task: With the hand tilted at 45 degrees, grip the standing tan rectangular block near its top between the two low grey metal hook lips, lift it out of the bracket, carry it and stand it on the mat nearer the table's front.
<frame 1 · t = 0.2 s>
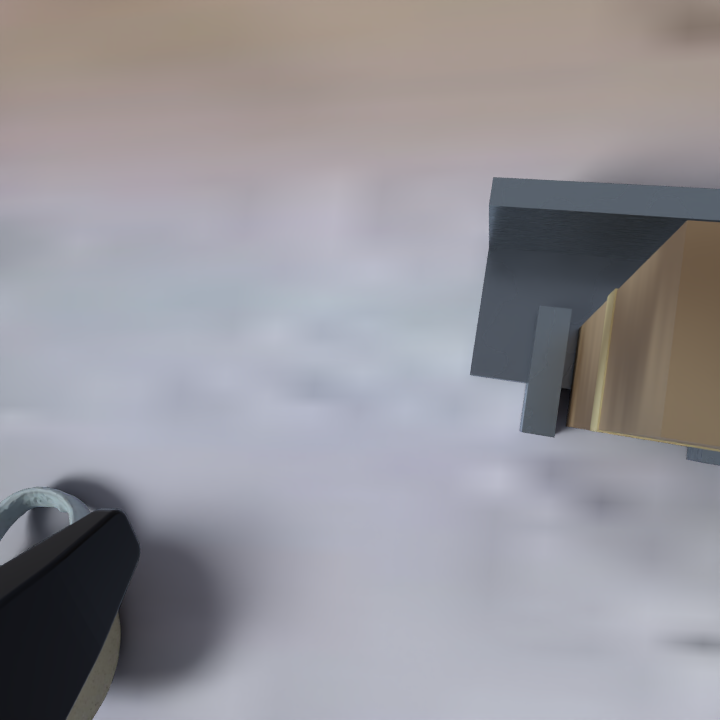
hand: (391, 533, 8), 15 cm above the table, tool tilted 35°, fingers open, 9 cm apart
tan rectangular block: (626, 384, 21), touching bracket
bracket: (624, 384, 21), on the table
ceramic mug: (59, 595, 26), on the table
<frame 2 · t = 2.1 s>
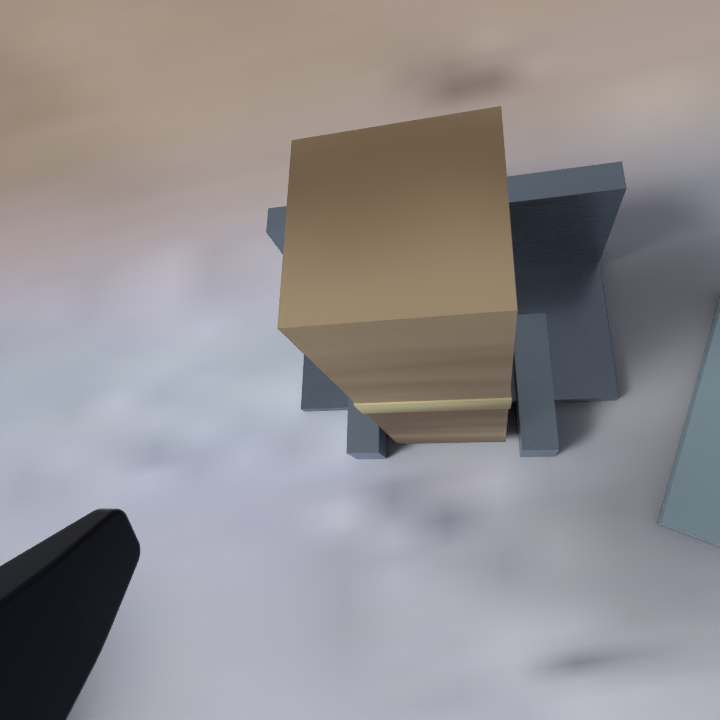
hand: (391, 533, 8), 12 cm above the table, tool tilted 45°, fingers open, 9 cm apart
tan rectangular block: (448, 391, 20), touching bracket
bracket: (449, 393, 21), on the table
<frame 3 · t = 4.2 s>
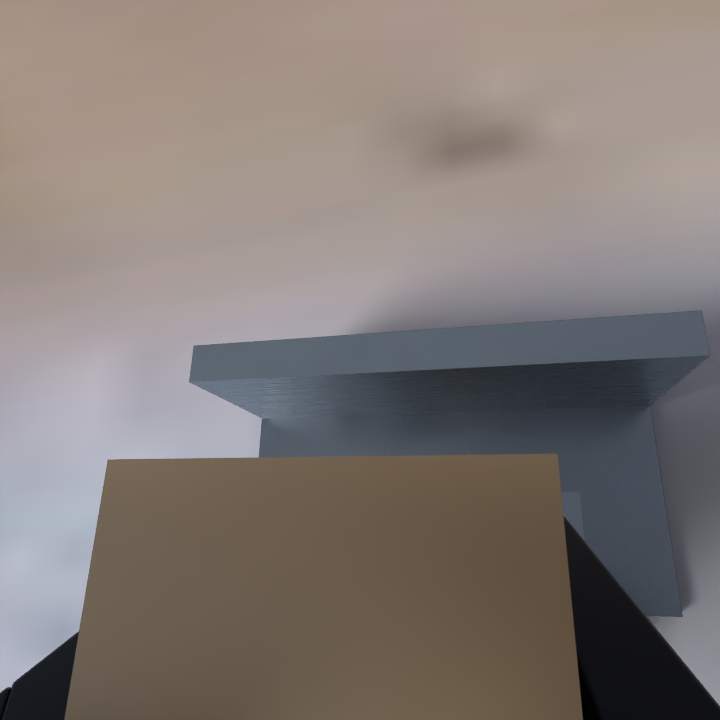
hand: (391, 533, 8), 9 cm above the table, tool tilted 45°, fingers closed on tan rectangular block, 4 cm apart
tan rectangular block: (444, 585, 15), touching bracket, gripper
bracket: (445, 584, 15), on the table
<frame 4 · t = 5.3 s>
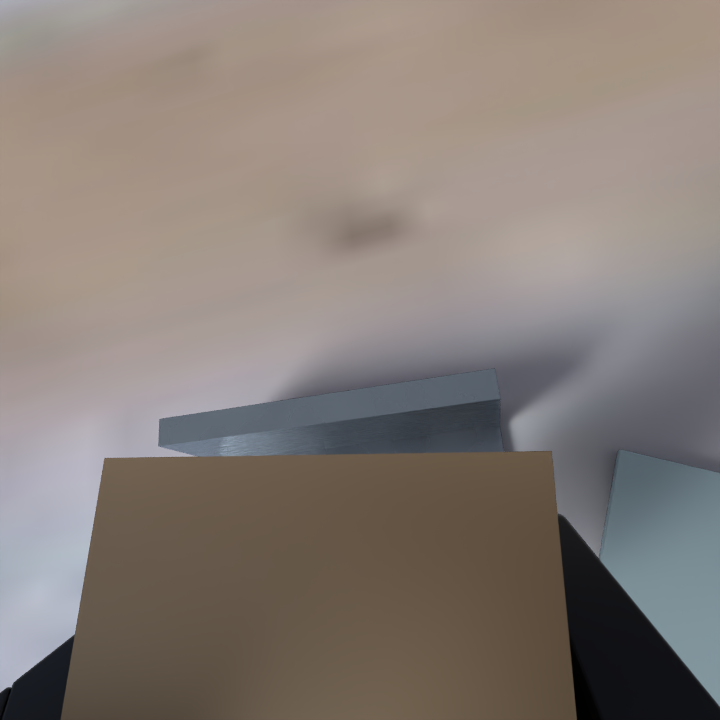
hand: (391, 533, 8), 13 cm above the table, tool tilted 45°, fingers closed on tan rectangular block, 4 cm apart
tan rectangular block: (442, 584, 15), point 5 cm above the table, touching gripper
bracket: (365, 573, 21), on the table
when the fingers open (9 cm above the table, at t = 6.8 s): tan rectangular block stays where it is, resting on mat.
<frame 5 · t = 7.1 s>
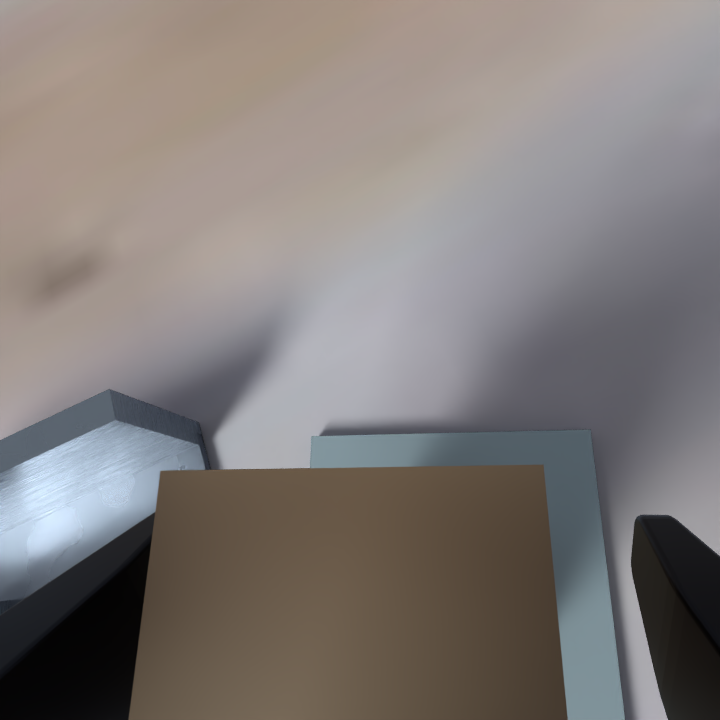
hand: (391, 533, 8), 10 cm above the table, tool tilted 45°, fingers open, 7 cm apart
tan rectangular block: (446, 581, 16), resting on mat
mat: (448, 580, 16), on the table
bracket: (87, 646, 18), on the table
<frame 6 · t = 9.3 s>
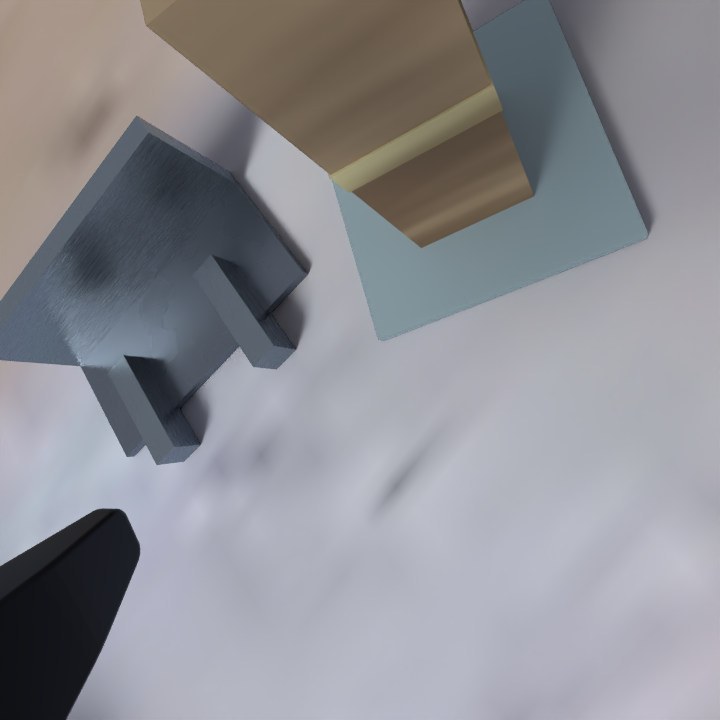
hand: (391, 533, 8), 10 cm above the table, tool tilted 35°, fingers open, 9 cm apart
tan rectangular block: (456, 171, 18), resting on mat
mat: (461, 177, 18), on the table
bracket: (209, 363, 23), on the table
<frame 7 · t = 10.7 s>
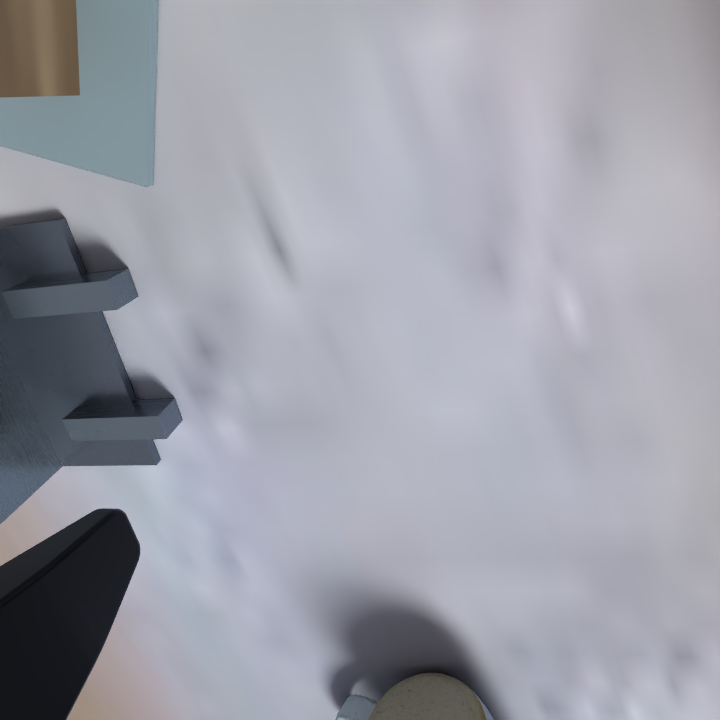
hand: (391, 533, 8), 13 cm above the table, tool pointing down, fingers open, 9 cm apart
tan rectangular block: (20, 14, 17), resting on mat
mat: (32, 15, 18), on the table
bracket: (108, 353, 24), on the table
ceramic mug: (428, 706, 32), on the table
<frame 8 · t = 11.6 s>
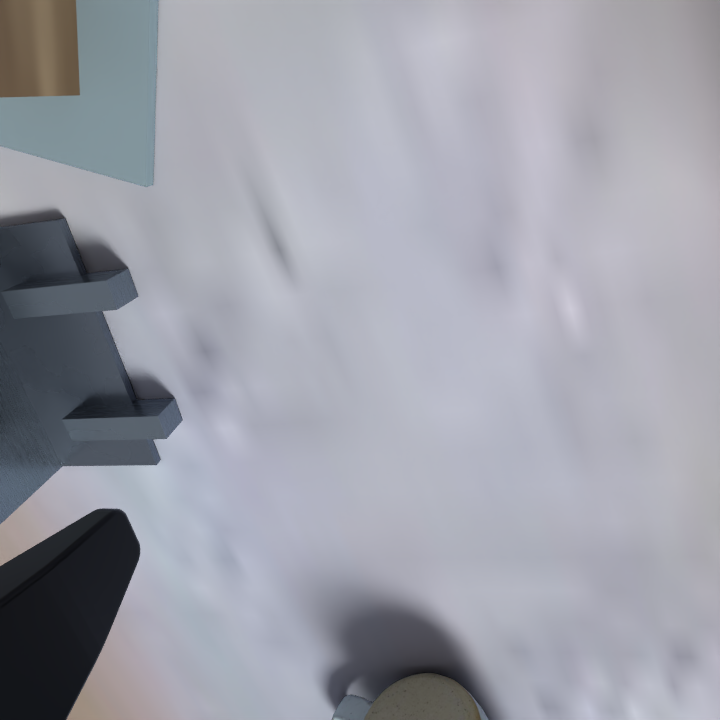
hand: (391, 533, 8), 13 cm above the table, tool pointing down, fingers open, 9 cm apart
tan rectangular block: (20, 14, 17), resting on mat
mat: (32, 15, 18), on the table
bracket: (108, 353, 24), on the table
ceramic mug: (424, 706, 32), on the table
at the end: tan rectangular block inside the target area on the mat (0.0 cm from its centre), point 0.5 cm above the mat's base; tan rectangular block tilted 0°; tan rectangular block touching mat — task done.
